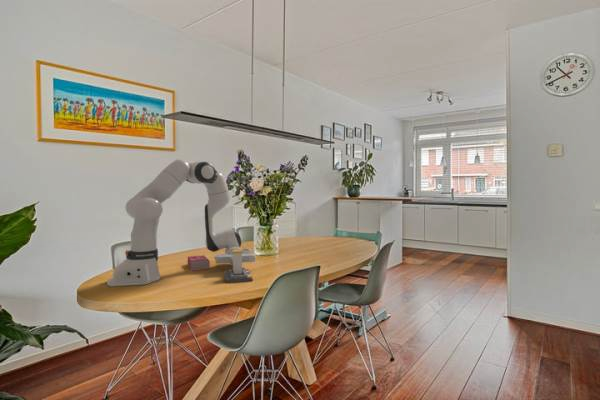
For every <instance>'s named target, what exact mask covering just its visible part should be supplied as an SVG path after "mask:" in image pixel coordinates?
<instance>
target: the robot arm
mask: <svg viewBox="0 0 600 400" xmlns="http://www.w3.org/2000/svg"><path fill="white" fill-rule="evenodd" d="M184 182H188V183H191V184H199V185H200V184H203V185H204V186H205V188H206V192H207V196H208V199H207V204H205V205H204V224H205V225H204V227H205V240H204V241H205V247H206V248H207V250H208V251H210V252H212V253H215V252H218V251H220V250H223V249H224V253H219V254H216V255H215V256H214V259H215V264H217V265H218V264H230V265H232V266H233V250H242V264H243V263H252V262H253V263H254V262H256V254H255V252H253V251H252V250H251V249H250V248H241V247H242V239H241V235H240V233H239V232H238V230H237V229H236V228H234V227H231V228H228V229H224V230H220V231H217V232H214V226H213V225H214V224H213V218H214V217H215V215H216V214H217V213H218V212H220V211H221V210H223V209H224V208H225V207H226V206H228V204H229V203H230V200H231V199H230V198H231V197H230V191H229V187H228V183H227V181H226V178H225V176H224V173H221V172H219V171H217V170H216V169H215V166H214V165H213V164H212V163H210V162H207V161H196V162H192V163H188V162H187V161H185V160H183V159H181V158H180V159H179V158H178V159H175V160H174V161H172V162H171V163H169V164H168V165H167V166H166V167H165V168H163V170H162V171H160V173H159V174H158V175H157V176H155V178H154V179H153V180H152V181H151V182H150V183H149V184H148V185H146V186H144V188H143V189H141V190H140V191H138V192H137V193H136V194H135V195H134V196H133V197H131V198H130V199H129V200H127V202H126V204H125V212H126V213H127V214H128V216H129V217H131V218H132V219H134V222H133V226H132V230H131V232H130V249H128V250H126V251H124V254H125V260H123V261H122V262H120V264H118V265H117V266H116V267H115V268H114V269H113V273H112V276H111V277H110V278H109V279H107V282H106V284H107V286H108V287H122V286H123V287H126V286H139V285H140V286H142V285H148V284H150V283H154V282H158V281H159V280H160V279H161V274H160V269H159V265H158V264H159V263H158V260H159V251H158V250H159V249H158V247H157V246H158V241H157V235H158V226H159V223H160V217H161V215H162V214H163V205H162V204H163V203H164V202H165V201H167V200H168V199H170V198H171V197H172V196H173V195H174V194H175V193H176V191H177V190H178V189H180V187H181V186H182V185H183V184H184Z"/></svg>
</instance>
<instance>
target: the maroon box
mask: <svg viewBox="0 0 600 400" xmlns="http://www.w3.org/2000/svg"><path fill="white" fill-rule="evenodd" d="M187 266H188V268H190V270H191V271H197V270H198V271H200V270H208V269H209V270H210V267H211V266H210V260H209V259H208V257H207V256H205V254H204V255H191V256H190V255H189V256H187Z"/></svg>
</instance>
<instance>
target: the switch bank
mask: <svg viewBox="0 0 600 400" xmlns="http://www.w3.org/2000/svg"><path fill="white" fill-rule="evenodd" d="M223 273H224V278H225V283H241V282H242V283H243V282H252V281H253V277H252V275H251V274H252V273H251V272H250V270H249V269H245V267H242V274H233V267H232V268H228V270H223Z"/></svg>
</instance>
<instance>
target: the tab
mask: <svg viewBox="0 0 600 400" xmlns="http://www.w3.org/2000/svg"><path fill="white" fill-rule="evenodd" d="M232 268H233V274H242V268H243V263H242V250H233V265H232Z"/></svg>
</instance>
